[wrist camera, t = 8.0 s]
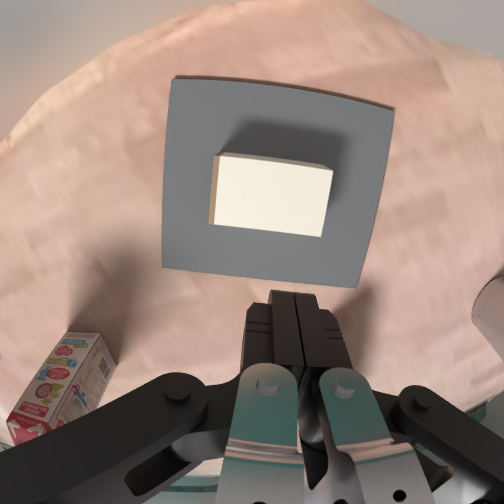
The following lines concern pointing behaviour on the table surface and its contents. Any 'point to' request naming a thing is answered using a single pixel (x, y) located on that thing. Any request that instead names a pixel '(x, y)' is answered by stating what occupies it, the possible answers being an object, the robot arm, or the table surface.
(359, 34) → the table surface
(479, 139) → the table surface
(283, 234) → the mat
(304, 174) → the cream block
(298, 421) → the robot arm
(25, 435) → the juice carton
